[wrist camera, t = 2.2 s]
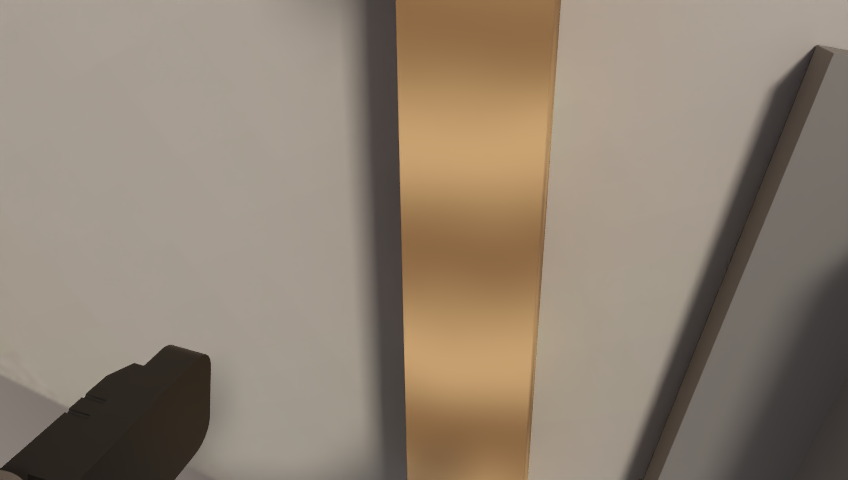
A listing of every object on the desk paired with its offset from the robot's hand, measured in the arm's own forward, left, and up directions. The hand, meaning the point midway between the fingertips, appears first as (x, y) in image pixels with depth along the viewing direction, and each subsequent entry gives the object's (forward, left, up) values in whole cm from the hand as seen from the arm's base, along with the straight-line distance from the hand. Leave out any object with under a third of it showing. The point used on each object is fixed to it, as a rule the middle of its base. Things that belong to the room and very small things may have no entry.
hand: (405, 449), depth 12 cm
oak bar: (0, 0, -12) cm, 12 cm away
